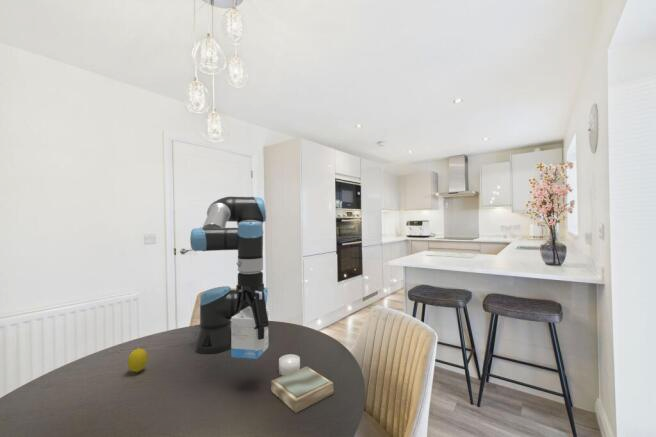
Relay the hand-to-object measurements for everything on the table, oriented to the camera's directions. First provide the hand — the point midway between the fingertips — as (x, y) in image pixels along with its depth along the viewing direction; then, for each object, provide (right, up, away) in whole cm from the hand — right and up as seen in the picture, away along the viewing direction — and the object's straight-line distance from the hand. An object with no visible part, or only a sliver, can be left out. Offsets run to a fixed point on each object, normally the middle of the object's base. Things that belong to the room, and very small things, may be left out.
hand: (250, 342), depth 86 cm
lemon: (-40, -14, +8) cm, 43 cm away
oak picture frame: (+16, -13, -4) cm, 21 cm away
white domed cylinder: (+11, -13, +8) cm, 19 cm away
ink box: (0, -3, 0) cm, 3 cm away
